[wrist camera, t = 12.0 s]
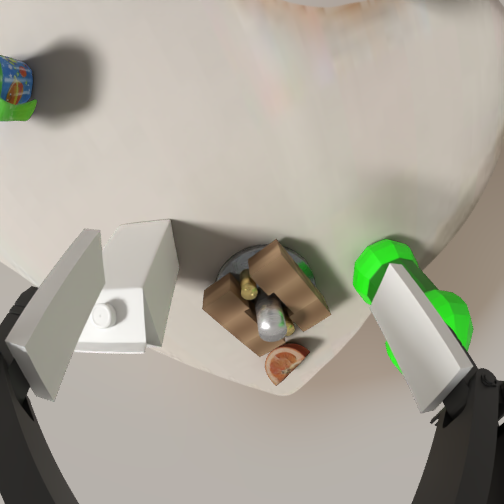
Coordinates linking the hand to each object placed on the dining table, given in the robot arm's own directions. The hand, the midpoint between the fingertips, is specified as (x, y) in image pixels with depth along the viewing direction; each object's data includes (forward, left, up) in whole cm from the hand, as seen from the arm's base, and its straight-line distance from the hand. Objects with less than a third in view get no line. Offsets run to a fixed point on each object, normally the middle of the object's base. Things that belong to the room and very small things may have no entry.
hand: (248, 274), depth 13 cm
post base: (+15, +10, -24) cm, 31 cm away
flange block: (+15, +10, -23) cm, 29 cm away
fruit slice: (+26, +19, -25) cm, 41 cm away
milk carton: (+14, -7, -25) cm, 29 cm away
